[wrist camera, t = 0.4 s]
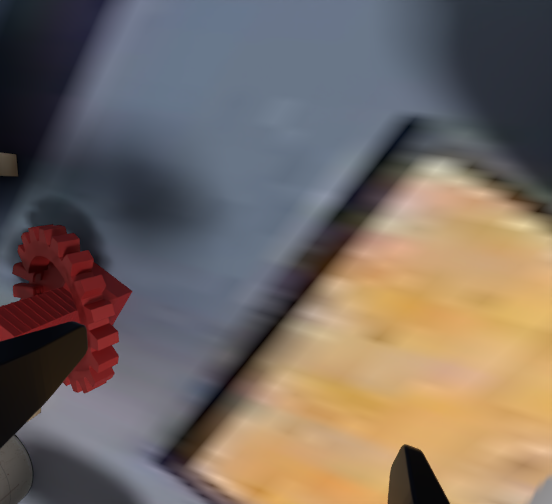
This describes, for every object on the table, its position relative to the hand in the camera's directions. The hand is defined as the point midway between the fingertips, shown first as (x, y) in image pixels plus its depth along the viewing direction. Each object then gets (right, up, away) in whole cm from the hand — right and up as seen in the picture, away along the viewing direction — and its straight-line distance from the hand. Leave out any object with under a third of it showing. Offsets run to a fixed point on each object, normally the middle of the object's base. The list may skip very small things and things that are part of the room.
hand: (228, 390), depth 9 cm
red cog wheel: (-13, 0, +16) cm, 20 cm away
